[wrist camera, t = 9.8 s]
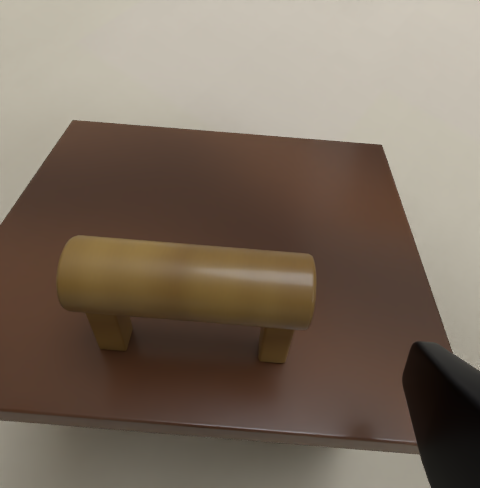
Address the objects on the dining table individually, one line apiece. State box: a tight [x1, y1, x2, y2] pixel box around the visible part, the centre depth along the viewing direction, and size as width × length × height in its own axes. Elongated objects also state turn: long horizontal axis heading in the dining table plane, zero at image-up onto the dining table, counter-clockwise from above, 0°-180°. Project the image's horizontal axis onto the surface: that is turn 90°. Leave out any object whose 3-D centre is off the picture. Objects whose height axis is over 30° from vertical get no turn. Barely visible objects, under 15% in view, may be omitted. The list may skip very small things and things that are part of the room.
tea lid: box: [0, 120, 452, 454], centre depth 12 cm, size 12×14×4 cm
